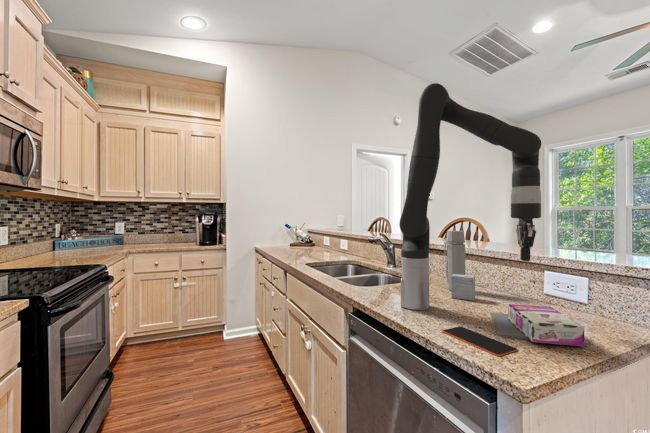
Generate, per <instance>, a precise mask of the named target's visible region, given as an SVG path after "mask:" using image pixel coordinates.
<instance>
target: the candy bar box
mask: <svg viewBox="0 0 650 433" xmlns="http://www.w3.org/2000/svg"><path fill="white" fill-rule="evenodd" d="M507 306H508V307H507V309H508V310H507V312H508V313H507V314H508V320H509V321H510V322H511V323H512V324H513V325H515V326H516V327H517V328H518V329H519V330H520V331H521V332H522V333H523V334H524V335H525V336H526V337H527V338H528V339H529V340H528V341H530V342H532V343H537V344H539V343H540V344H549V345H550V344H551V345H563V346H565V345H566V346H573V347H582V346H584V342H585V326H583V325H582V324H580V323H579V322H577V321H575V320H574V319H572V318H570V317H568V316H567V315H565V314H563V313H561V311H559V310H557V309H555V308H553V307H552V306H543V305H528V304H527V305H525V304H511V303H508V304H507Z"/></svg>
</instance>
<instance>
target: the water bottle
mask: <svg viewBox="0 0 650 433" xmlns="http://www.w3.org/2000/svg"><path fill="white" fill-rule="evenodd" d="M465 238H466V237H465V231H464V230H447V231H446V240H445V241H446V242H445V241H444V243H443V244H444V251H443V253H444V256H446V266H445V274H446V275H445V276H444V273H443V271H444V267H442V270H441V273H442V279H446V282H447V283H446V289H447V290H449V291H451V276H452V275H453V274H459V275H466V240H465ZM444 261H445V258H443V261H442V264H444Z"/></svg>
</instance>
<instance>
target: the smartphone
mask: <svg viewBox="0 0 650 433" xmlns="http://www.w3.org/2000/svg"><path fill="white" fill-rule="evenodd" d="M441 332H442V333H443V334H445V335H447V336H450V337H453V338H454V339H457V340H458V341H461V342H463V343H466V344H468V345H470V346H472V347H475V348H477V349H480V350H481V351H484V352H485V353H488V354H490V355H493V356H495V357H498V358H500V357H501V358H502V357H505V356H507V355H511V354H513V353H517V352H519V349H518V348H517V347H514V346H511V345H510V344H507V343H504V342H502V341H499V340H497V339H494V338H491V337H489V336H486V335H484V334H481V333H479V332H476V331H473V330H472V329H469V328H466V327H463V326H460V325H459V326H455V327H451V328H447V329H443V330H442V331H441Z"/></svg>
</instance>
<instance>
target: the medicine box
mask: <svg viewBox="0 0 650 433" xmlns="http://www.w3.org/2000/svg"><path fill="white" fill-rule="evenodd" d="M450 291H451V292H450V293H451V295H450V297H451V299H459V300H465V301H475V300H476V277H475V275H469V274H465V275H459V274H453V275H452V276H451V290H450Z"/></svg>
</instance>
